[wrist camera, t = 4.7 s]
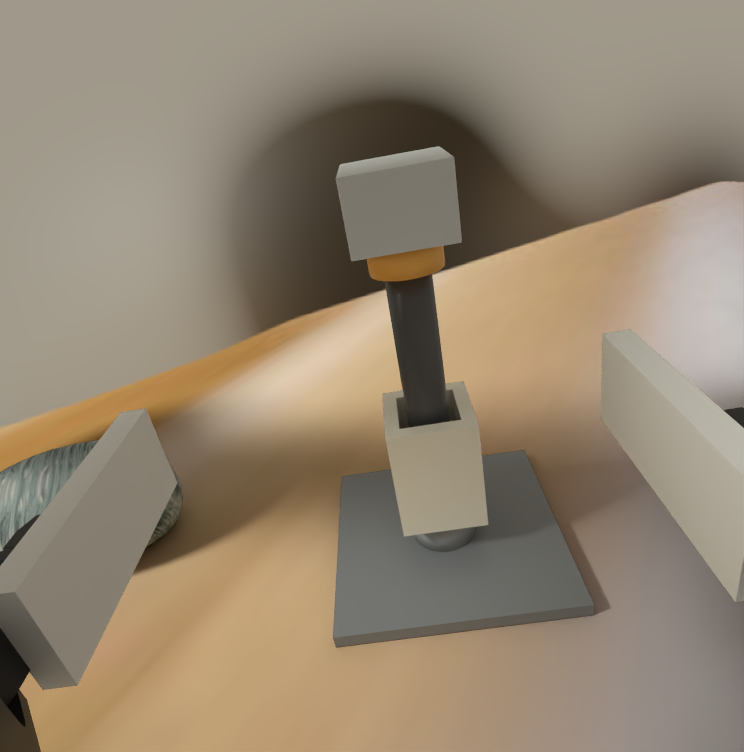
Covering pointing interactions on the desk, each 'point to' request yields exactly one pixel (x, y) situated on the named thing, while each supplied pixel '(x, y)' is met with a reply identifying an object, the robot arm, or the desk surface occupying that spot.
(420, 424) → the stand
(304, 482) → the desk surface
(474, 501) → the sleeve
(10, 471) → the grey oval lump
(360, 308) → the desk surface
